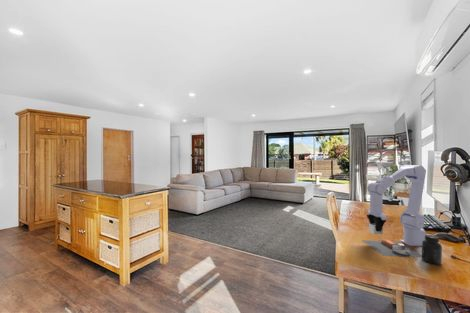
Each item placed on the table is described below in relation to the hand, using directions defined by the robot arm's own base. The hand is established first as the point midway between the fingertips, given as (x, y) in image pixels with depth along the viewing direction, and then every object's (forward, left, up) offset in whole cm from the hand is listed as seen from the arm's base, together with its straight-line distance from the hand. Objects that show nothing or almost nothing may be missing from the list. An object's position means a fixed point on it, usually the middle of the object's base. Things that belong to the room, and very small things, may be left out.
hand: (375, 229), depth 119 cm
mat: (-5, +4, -8) cm, 11 cm away
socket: (0, 0, -2) cm, 2 cm away
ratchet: (-7, +5, -8) cm, 12 cm away
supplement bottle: (-14, +19, -9) cm, 25 cm away
